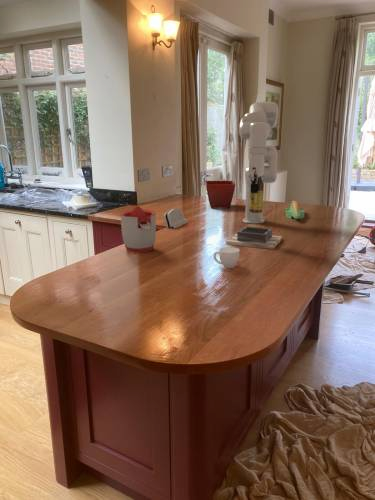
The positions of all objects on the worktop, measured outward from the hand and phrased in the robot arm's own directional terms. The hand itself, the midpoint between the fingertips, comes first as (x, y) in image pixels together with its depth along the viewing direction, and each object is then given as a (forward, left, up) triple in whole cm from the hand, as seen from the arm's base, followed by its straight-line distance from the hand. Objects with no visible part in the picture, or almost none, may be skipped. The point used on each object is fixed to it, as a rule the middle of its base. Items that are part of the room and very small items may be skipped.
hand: (256, 191), depth 185 cm
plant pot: (-79, -48, -24) cm, 96 cm away
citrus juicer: (+33, -43, -24) cm, 59 cm away
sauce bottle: (0, 0, -10) cm, 10 cm away
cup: (+39, 0, -24) cm, 46 cm away
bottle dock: (0, 0, -24) cm, 24 cm away
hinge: (-18, -52, -24) cm, 60 cm away
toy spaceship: (-63, +7, -24) cm, 68 cm away
